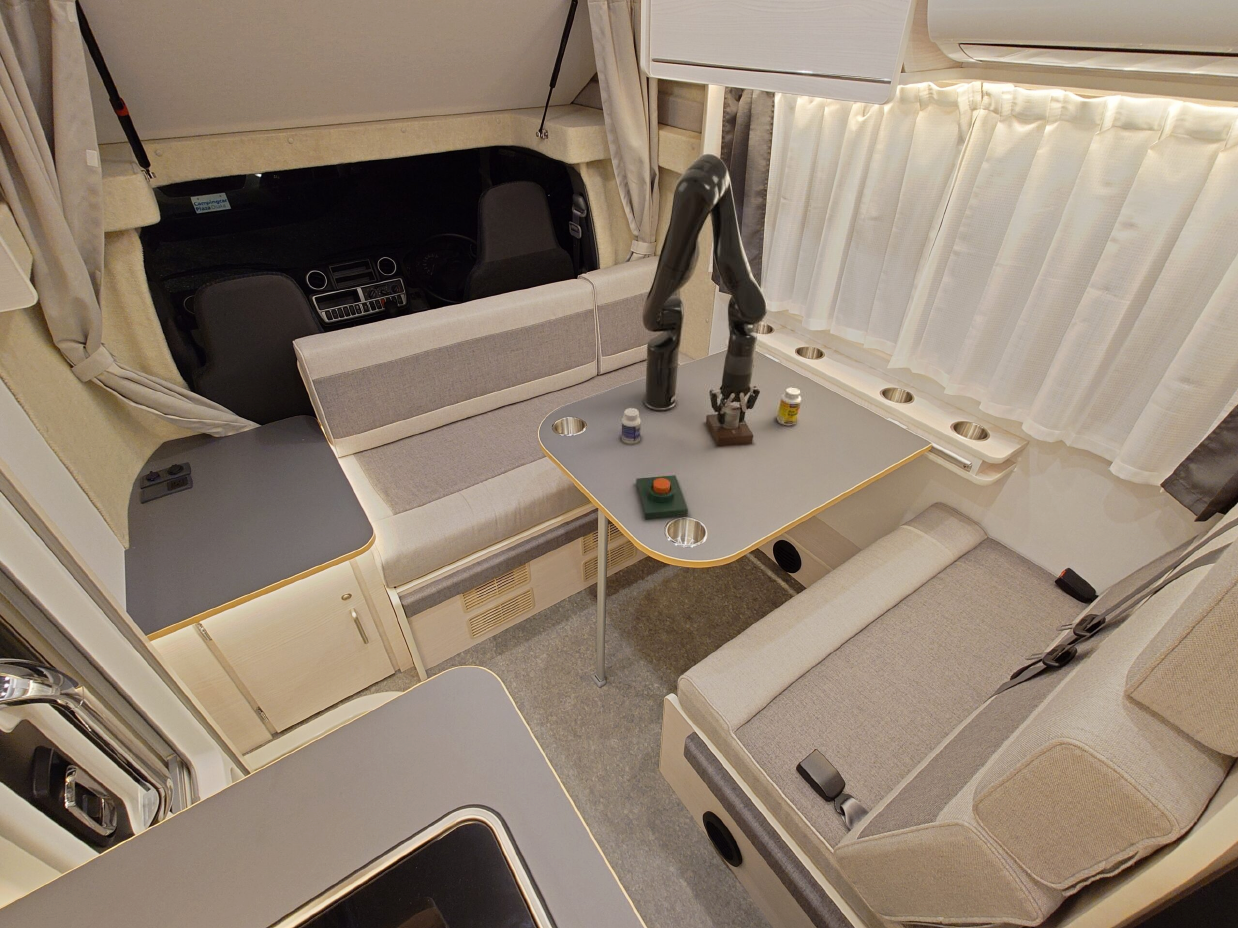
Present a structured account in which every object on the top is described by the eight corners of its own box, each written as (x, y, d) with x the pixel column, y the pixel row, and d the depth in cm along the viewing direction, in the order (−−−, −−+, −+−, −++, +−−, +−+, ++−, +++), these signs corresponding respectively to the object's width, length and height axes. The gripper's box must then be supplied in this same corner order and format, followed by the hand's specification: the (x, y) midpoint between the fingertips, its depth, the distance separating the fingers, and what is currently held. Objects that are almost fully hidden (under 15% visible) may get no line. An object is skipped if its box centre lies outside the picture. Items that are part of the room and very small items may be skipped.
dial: (724, 430, 155) (727, 413, 152) (718, 421, 159) (720, 405, 156) (740, 427, 156) (743, 411, 153) (733, 418, 160) (736, 403, 157)
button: (651, 484, 135) (652, 478, 134) (667, 482, 135) (668, 477, 134) (654, 494, 132) (655, 489, 131) (671, 493, 132) (671, 487, 131)
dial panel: (705, 423, 163) (706, 414, 162) (738, 420, 165) (739, 411, 163) (717, 446, 154) (718, 437, 152) (751, 444, 155) (753, 434, 153)
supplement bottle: (784, 428, 162) (791, 397, 156) (772, 418, 166) (779, 388, 160) (800, 423, 164) (807, 393, 157) (787, 414, 168) (794, 384, 161)
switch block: (636, 485, 140) (636, 472, 138) (674, 481, 142) (675, 469, 139) (645, 520, 130) (645, 507, 128) (687, 516, 131) (688, 503, 129)
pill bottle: (638, 445, 154) (639, 418, 149) (619, 443, 155) (620, 415, 150) (641, 434, 158) (642, 408, 153) (623, 432, 159) (623, 405, 154)
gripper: (758, 359, 151) (749, 413, 161) (707, 362, 149) (701, 417, 159) (769, 371, 145) (759, 427, 155) (717, 375, 143) (709, 431, 153)
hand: (730, 422), depth 157 cm, fingers closed on dial, 5 cm apart
